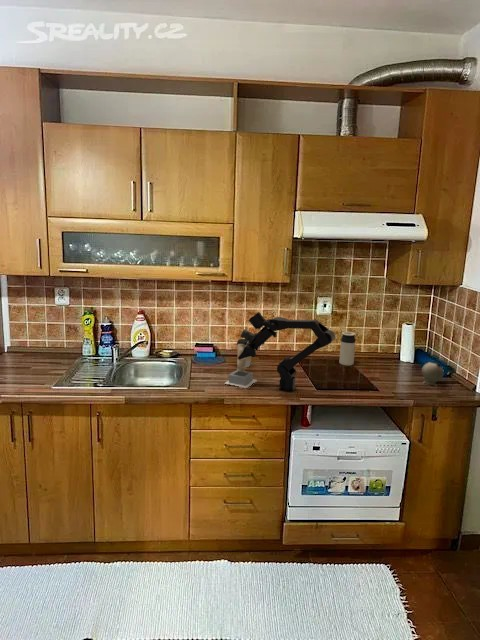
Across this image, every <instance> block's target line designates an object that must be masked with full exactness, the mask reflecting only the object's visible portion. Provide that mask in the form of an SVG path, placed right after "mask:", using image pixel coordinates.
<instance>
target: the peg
mask: <svg viewBox="0 0 480 640" xmlns="http://www.w3.org/2000/svg"><path fill="white" fill-rule="evenodd" d="M244 345H245V344H238V347H237V348H238V351H237V357H236V358H237V361H236V362H237V364H236V367H237V368H236V370H237V371H239V372H244V371H246V369H245V364H246V358H243V359H240V360H239V359H238V357H239V356H240V354H241V353H242V352H243V350H244Z"/></svg>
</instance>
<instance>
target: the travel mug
mask: <svg viewBox="0 0 480 640" xmlns="http://www.w3.org/2000/svg"><path fill="white" fill-rule="evenodd" d="M341 335H342V336H341V338H340V348H339V361H338V362H339V364H340V365H341V366H353V365H354V363H355V362H354V361H355V348H356V340H357V339H356V335H357V333H355V332H353V331H342V332H341Z"/></svg>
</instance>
